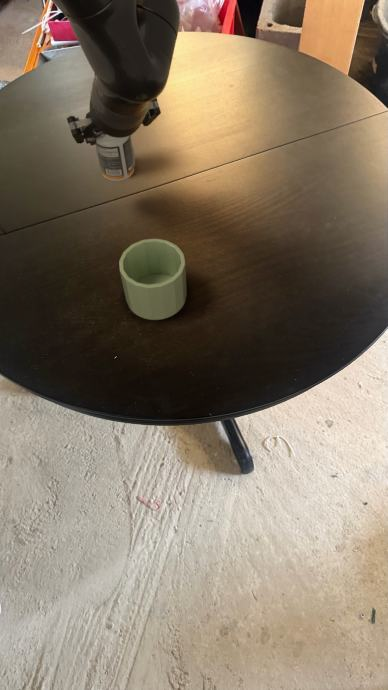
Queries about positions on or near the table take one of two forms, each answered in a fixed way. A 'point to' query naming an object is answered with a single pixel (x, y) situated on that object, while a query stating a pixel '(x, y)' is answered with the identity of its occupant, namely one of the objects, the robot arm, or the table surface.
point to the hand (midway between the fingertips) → (108, 134)
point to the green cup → (154, 278)
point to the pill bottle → (115, 157)
